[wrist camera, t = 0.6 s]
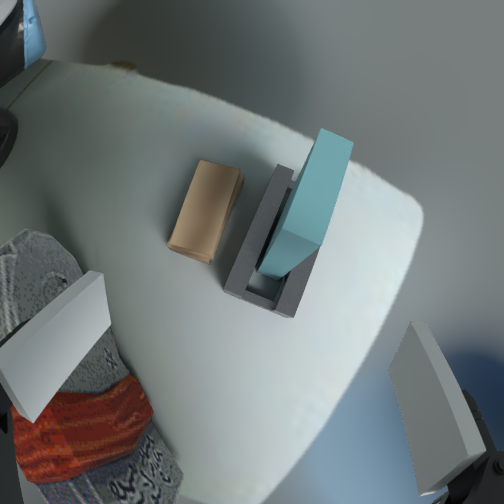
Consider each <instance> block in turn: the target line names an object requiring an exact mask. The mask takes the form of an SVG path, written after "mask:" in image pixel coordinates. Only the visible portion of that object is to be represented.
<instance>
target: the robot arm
mask: <svg viewBox="0 0 504 504" xmlns="http://www.w3.org/2000/svg"><path fill="white" fill-rule="evenodd" d="M45 50H46V42H45V37H44V33H43V29H42V25H41V21H40V17H39V13H38V10H37V6H36V3H35V0H0V88H1V87H3V86H4V85H5V84H6V83H8V82H9V81H10V80H12V79H13V78H14V77H16V76H17V75H18V74H20V73H21V72H22V71H24V70H26V69H27V68H28V67H29V66H30V65H31V64H33V63H34V62H35V61H37V60H38V59H39V58H41V57H42V56H43V54H44V52H45ZM17 129H18V125H17V121H16V119H15V118H14V117H13V116H12V114H11V113H10V112H8V111H7V110H4V109H2V108H0V167H1V166H2V165H3V163H4V162H5V160H6V158H7V157H8V155H9V153H10V151H11V149H12V147H13V144H14V142H15V139H16V135H17ZM110 325H111V321H110V315H109V309H108V303H107V297H106V290H105V283H104V276H103V273H99V272H95V271H91V270H90V271H88V272H87V273H86V274H85V275H83V276H82V277H81V278H80V279H78V280H77V281H76V282H75V283H73V284H72V285H71V286H70V287H68V288H67V289H66V290H65V291H64V292H62V293H61V294H60V295H59V296H58V297H56V298H55V299H54V300H53V301H52V302H50V303H49V304H48V305H47V306H46V307H45V308H43V309H42V310H41V311H40V312H39V313H38V314H37V315H35V316H34V317H33V318H30V319H28V320H26V321H24V322H22V323H20V324H19V325H18V326H16V327H15V328H14V329H13V330H12V332H10V333H9V334H8V335H7V336H6V338H3V339H2V340H1V341H0V504H24V502H23V498H22V493H21V488H20V482H19V477H18V470H17V464H16V455H15V446H14V434H13V415H12V411H11V410H10V408H11V406H12V405H14V406H15V408H16V410H17V411H18V413H19V414H20V415H21V416H23V417H24V418H26V419H27V420H29V421H31V422H32V423H34V422H35V420H36V419H37V417H38V416H39V415H40V413H41V412H42V411H43V409H44V408H45V407H46V405H47V404H48V403H49V401H50V400H51V399H52V397H53V396H54V395H55V393H56V392H57V391H58V389H59V388H60V387H61V385H62V384H63V383H64V382H65V380H66V379H67V378H68V376H69V375H70V374H71V373H72V371H73V370H74V369H75V368H76V366H77V365H78V364H79V363H80V361H81V360H82V359H83V358H84V356H85V355H86V354H87V353H88V351H89V350H90V349H91V348H92V347H93V345H94V344H95V343H96V342H97V340H98V339H99V338H100V337H101V336H102V334H103V333H104V332H105V331H106V330H107V329H108V327H109V326H110ZM388 371H389V375H390V378H391V381H392V385H393V388H394V391H395V395H396V398H397V401H398V405H399V409H400V413H401V416H402V420H403V424H404V428H405V432H406V435H407V440H408V444H409V448H410V453H411V457H412V462H413V467H414V471H415V476H416V481H417V486H418V492H419V496H422V495H427V494H431V493H436V492H438V491H439V490H440V489H442V488H443V487H445V486H446V485H447V486H448V491H447V492H446V493H444V494H443V495H442V496H440V497H439V498H437V499H436V500H435V501H434V502H433V503H432V504H436V503H438V502H439V501H440V503H439V504H504V452H502V451H497V450H496V449H495V446H494V444H493V441H492V439H491V436H490V434H489V431H488V429H487V427H486V424H485V422H484V420H482V415H481V413H480V412H479V411H478V410H479V409H478V406H477V404H476V402H475V400H474V398H473V397H472V396H471V395H470V394H469V393H468V392H467V391H466V390H461V389H460V387H459V385H458V383H457V381H456V379H455V377H454V375H453V373H452V371H451V369H450V367H449V365H448V363H447V361H446V359H445V358H444V356H443V354H442V352H441V350H440V348H439V346H438V344H437V343H436V341H435V339H434V337H433V335H432V334H431V332H430V330H429V328H428V327H427V325H426V323H425V322H412V321H411V322H410V324H409V326H408V328H407V331H406V333H405V335H404V337H403V339H402V342H401V344H400V346H399V348H398V350H397V352H396V354H395V356H394V358H393V360H392V362H391V364H390V366H389V368H388Z"/></svg>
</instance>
